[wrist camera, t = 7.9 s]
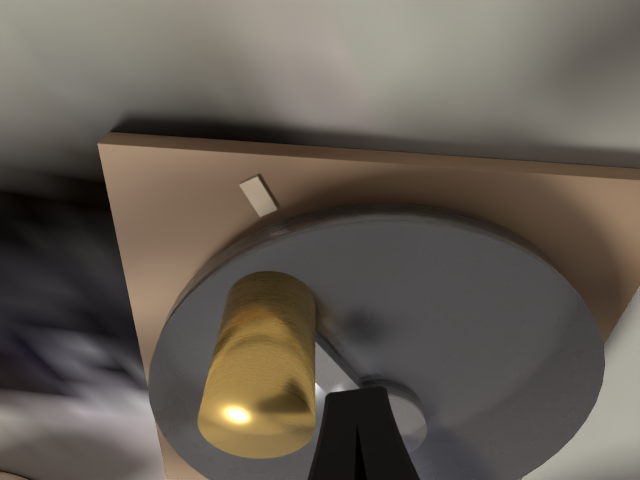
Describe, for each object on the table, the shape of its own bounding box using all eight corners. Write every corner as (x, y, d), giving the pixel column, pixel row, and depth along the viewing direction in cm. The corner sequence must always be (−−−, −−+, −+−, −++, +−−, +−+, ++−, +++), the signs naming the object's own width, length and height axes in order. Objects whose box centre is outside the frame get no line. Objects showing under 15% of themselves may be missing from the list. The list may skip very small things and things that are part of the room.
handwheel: (644, 182, 15) (822, 319, 10) (531, 475, 25) (589, 621, 20) (103, 210, 15) (-7, 357, 10) (206, 487, 26) (178, 633, 20)
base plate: (508, 473, 28) (515, 492, 27) (171, 462, 27) (166, 481, 26) (681, 171, 16) (703, 186, 15) (109, 131, 15) (96, 145, 14)
